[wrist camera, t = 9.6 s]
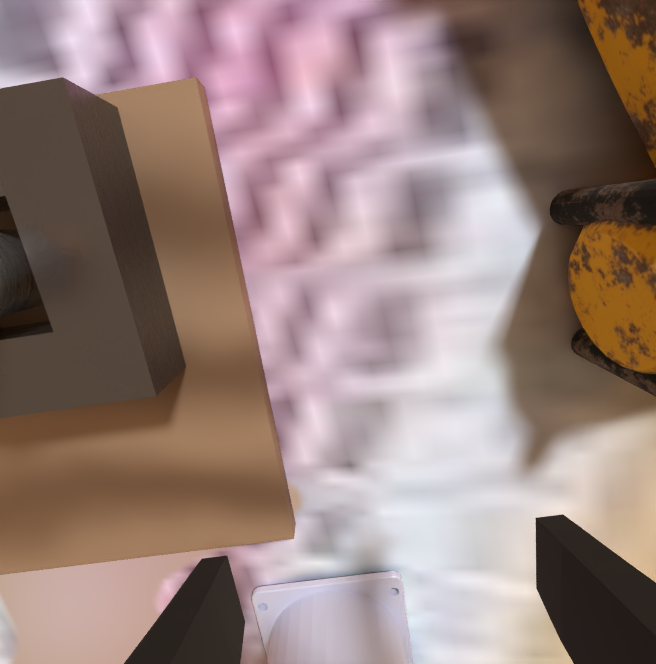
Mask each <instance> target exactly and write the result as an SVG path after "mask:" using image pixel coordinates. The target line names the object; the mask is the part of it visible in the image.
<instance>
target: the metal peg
mask: <svg viewBox="0 0 656 664" xmlns="http://www.w3.org/2000/svg"><path fill="white" fill-rule="evenodd" d="M42 305H44V304H43V301H42V298H41V295H40V292H39V290H38V287H37V284H36V281H35V278H34V275H33V273H32V270H31V267H30V264H29V261H28V258H27V256H26V253H25V250H24V247H23V244H22V241H21V239H20V236H19V233H18V230H17V229H0V317H3V316H7V315H10V314H14V313H17V312H21V311H24V310H28V309H31V308H35V307H38V306H42Z"/></svg>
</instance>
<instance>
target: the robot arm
mask: <svg viewBox="0 0 656 664" xmlns="http://www.w3.org/2000/svg"><path fill="white" fill-rule="evenodd" d="M536 585H537V590H538V593H539V595H540V597H541V599H542V601H543V604H544V606H545V608H546V610H547V612H548V615H549V617H550V619H551V621H552V623H553V625H554V627H555V629H556V632H557V634H558V636H559V638H560V640H561V642H562V644H563V645H564V647H565V649H566V651H567V652H568V654H569V656H570V658H571V659H572V661H573V663H574V664H656V583H655V582H654V581H653V580H651V579H650V578H648V577H647V576H646V575H644V574H643V573H642V572H640V571H639V570H637V569H636V568H635V567H633V566H632V565H630V564H629V563H628V562H626V561H625V560H624V559H622V558H621V557H620V556H618V555H617V554H616V553H614V552H613V551H611V550H610V549H609V548H607V547H606V546H605V545H603V544H602V543H601V542H599V541H598V540H597V539H595V538H594V537H593V536H591V535H590V534H589V533H587V532H586V531H585V530H583V529H582V528H581V527H579V526H578V525H577V524H575V523H574V522H572V521H571V520H570V519H568V518H567V517H566V516H564V515H556V516H548V517H540V518H536ZM392 588H395V589H392ZM252 602H253V606H254V610H255V614H256V618H257V622H258V625H259V629H260V633H261V637H262V641H263V645H264V648H265V652H266V656H267V664H413V662H412V654H411V646H410V638H409V630H408V622H407V614H406V607H405V599H404V591H403V583H402V578H401V575H400V574H399V573H398V572H395V571H387V572H378V573H370V574H361V575H353V576H345V577H336V578H328V579H319V580H311V581H302V582H294V583H286V584H277V585H269V586H260V587H257V588H256V589H254V591H253V594H252ZM262 603H265V604H262ZM244 626H245V620H244V616H243V612H242V609H241V605H240V601H239V598H238V594H237V590H236V587H235V583H234V579H233V576H232V572H231V568H230V565H229V561H228V557H227V556H221V557H213V558H204V559H201V561H200V562H199V563H198V565H197V566H196V567H195V569H194V570H193V571H192V573H191V574H190V575H189V577H188V578H187V579H186V581H185V582H184V584H183V585H182V586H181V588H180V589H179V591H178V592H177V593H176V595H175V596H174V597H173V599H172V600H171V602H170V603H169V604H168V606H167V607H166V608H165V610H164V611H163V612H162V614H161V615H160V617H159V618H158V619H157V621H156V622H155V623H154V625H153V626H152V627H151V629H150V630H149V631H148V632H147V634H146V635H145V636H144V638H143V639H142V640H141V642H140V643H139V644H138V646H137V647H136V649H135V650H134V651H133V652H132V654H131V655H130V656H129V658H128V659H127V660H126V662H125V663H124V664H240V659H241V652H242V643H243V635H244Z"/></svg>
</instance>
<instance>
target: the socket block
mask: <svg viewBox="0 0 656 664" xmlns="http://www.w3.org/2000/svg"><path fill="white" fill-rule="evenodd" d="M10 210H11V213H12V216H13V219H14V222H15V224H16V227H17V230H18V233H19V236H20V239H21V241H22V244H23V247H24V250H25V253H26V256H27V258H28V261H29V264H30V267H31V270H32V273H33V275H34V278H35V281H36V284H37V287H38V290H39V292H40V295H41V298H42V301H43V304H44V307H45V309H46V312H47V315H48V318H49V321H44V322H37V323H30V324H24V325H17V326H10V327H4V328H1V327H0V418H6V417H13V416H20V415H28V414H35V413H42V412H49V411H56V410H63V409H70V408H77V407H84V406H91V405H98V404H106V403H113V402H120V401H127V400H134V399H141V398H148V397H155V396H157V395H158V394H159V393H160V392H161V391H162V390H163V389H164V388H165V387H166V386H167V385H168V384H169V383H170V382H171V381H172V380H173V379H174V378H175V377H176V376H177V375H178V374H179V373H180V372H181V371H182V370H183V369H184V368H185V367H186V364H185V360H184V356H183V352H182V349H181V345H180V341H179V337H178V333H177V330H176V326H175V322H174V318H173V315H172V311H171V307H170V303H169V299H168V296H167V292H166V288H165V284H164V281H163V277H162V273H161V269H160V266H159V262H158V258H157V254H156V250H155V247H154V243H153V239H152V235H151V232H150V228H149V224H148V220H147V216H146V213H145V209H144V205H143V201H142V198H141V194H140V190H139V186H138V182H137V179H136V175H135V171H134V167H133V164H132V160H131V156H130V152H129V148H128V145H127V141H126V137H125V133H124V130H123V126H122V122H121V118H120V114H119V111H118V107H116V106H114V105H112V104H111V103H109V102H107V101H105V100H103V99H101V98H100V97H98V96H96V95H94V94H92V93H90V92H89V91H87V90H85V89H83V88H81V87H79V86H78V85H76V84H74V83H72V82H70V81H68V80H67V79H65V78H57V79H51V80H46V81H40V82H35V83H29V84H23V85H18V86H12V87H6V88H1V89H0V212H4V211H10Z"/></svg>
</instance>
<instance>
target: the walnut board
mask: <svg viewBox="0 0 656 664" xmlns="http://www.w3.org/2000/svg"><path fill="white" fill-rule="evenodd" d="M96 96H98V97H100V98H101V99H103V100H105V101H107V102H109V103H111V104H112V105H114V106H116V107H118V111H119V114H120V118H121V122H122V126H123V130H124V133H125V137H126V141H127V145H128V148H129V152H130V156H131V160H132V164H133V167H134V171H135V175H136V179H137V182H138V186H139V190H140V194H141V198H142V201H143V205H144V209H145V213H146V216H147V220H148V224H149V228H150V232H151V235H152V239H153V243H154V247H155V250H156V254H157V258H158V262H159V266H160V269H161V273H162V277H163V281H164V284H165V288H166V292H167V296H168V299H169V303H170V307H171V311H172V315H173V318H174V322H175V326H176V330H177V333H178V337H179V341H180V345H181V349H182V352H183V356H184V360H185V364H186V367H185V368H184V369H183V370H182V371H181V372H180V373H179V374H178V375H177V376H176V377H175V378H174V379H173V380H172V381H171V382H170V383H169V384H168V385H167V386H166V387H165V388H164V389H163V390H162V391H161V392H160V393H159V394H158V395H157V396H155V397H148V398H141V399H134V400H127V401H120V402H113V403H106V404H98V405H91V406H84V407H77V408H70V409H63V410H56V411H49V412H42V413H35V414H28V415H20V416H13V417H6V418H0V575H2V574H9V573H18V572H25V571H34V570H43V569H51V568H58V567H67V566H75V565H83V564H91V563H99V562H108V561H116V560H124V559H132V558H140V557H148V556H156V555H164V554H172V553H180V552H189V551H197V550H205V549H213V548H221V547H229V546H237V545H245V544H253V543H261V542H270V541H278V540H286V539H294V533H295V524H296V523H295V518H294V513H293V509H292V504H291V499H290V494H289V489H288V485H287V480H286V475H285V470H284V466H283V461H282V456H281V451H280V446H279V442H278V437H277V432H276V427H275V422H274V418H273V413H272V408H271V403H270V398H269V394H268V389H267V384H266V379H265V375H264V370H263V365H262V360H261V355H260V351H259V346H258V341H257V336H256V331H255V327H254V322H253V317H252V312H251V307H250V303H249V298H248V293H247V288H246V284H245V279H244V274H243V269H242V264H241V260H240V255H239V250H238V245H237V240H236V236H235V231H234V226H233V221H232V216H231V212H230V207H229V202H228V197H227V192H226V188H225V183H224V178H223V173H222V169H221V164H220V159H219V154H218V149H217V145H216V140H215V135H214V130H213V125H212V121H211V116H210V111H209V106H208V101H207V97H206V92H205V87H204V86H203V85H202V84H201V83H200V81H199V80H198V79H197V78H196V77H195V78H190V79H184V80H178V81H172V82H167V83H161V84H155V85H150V86H144V87H138V88H133V89H127V90H121V91H115V92H110V93H104V94H98V95H96ZM0 229H17V227H16V224H15V222H14V219H13V216H12V213H11V210H10V211H4V212H0ZM44 321H49V318H48V315H47V312H46V309H45V307H44V305H42V306H38V307H35V308H31V309H28V310H24V311H21V312H17V313H14V314H10V315H7V316H3V317H0V327H1V328H4V327H10V326H17V325H24V324H30V323H37V322H44Z"/></svg>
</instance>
